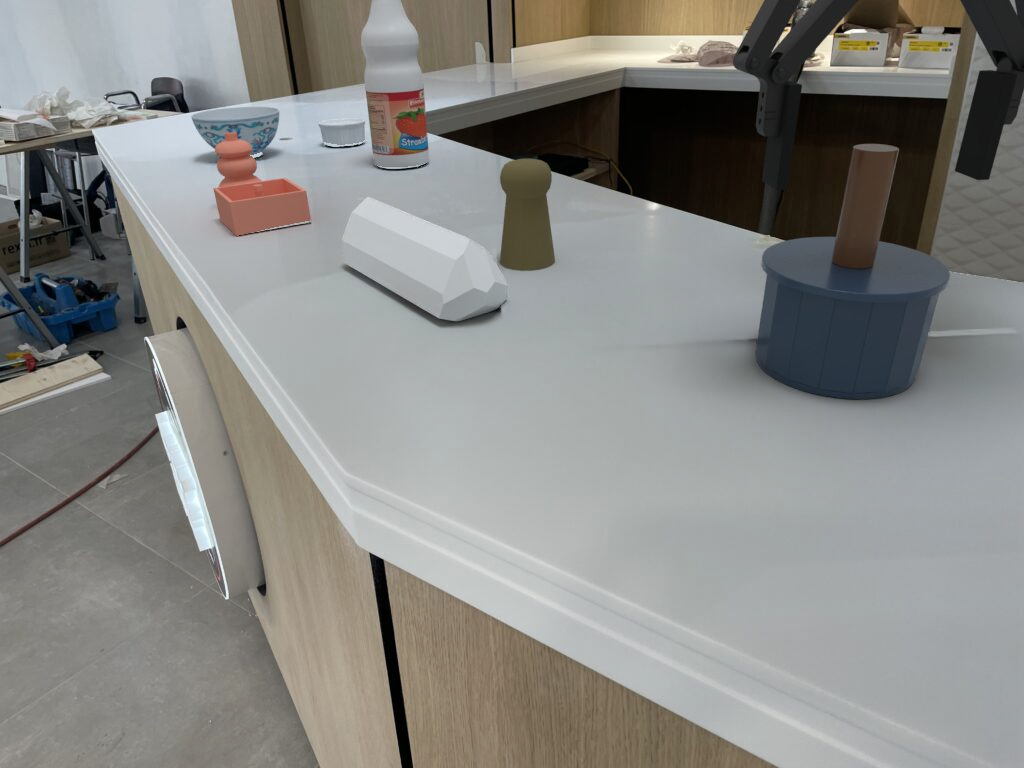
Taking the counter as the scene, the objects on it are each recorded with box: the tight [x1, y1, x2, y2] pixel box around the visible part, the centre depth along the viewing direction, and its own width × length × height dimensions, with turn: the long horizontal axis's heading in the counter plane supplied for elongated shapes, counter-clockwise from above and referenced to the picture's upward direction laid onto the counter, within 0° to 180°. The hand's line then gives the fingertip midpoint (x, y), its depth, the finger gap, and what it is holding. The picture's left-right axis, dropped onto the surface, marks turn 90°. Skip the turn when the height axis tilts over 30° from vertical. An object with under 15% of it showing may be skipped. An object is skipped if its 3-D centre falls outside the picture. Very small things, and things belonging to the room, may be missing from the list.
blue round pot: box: [755, 274, 940, 400], centre depth 55 cm, size 11×11×8 cm
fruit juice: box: [360, 0, 430, 167], centre depth 118 cm, size 9×9×28 cm
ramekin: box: [317, 117, 366, 145], centre depth 142 cm, size 9×9×4 cm
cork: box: [499, 158, 556, 272], centre depth 75 cm, size 6×6×11 cm
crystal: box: [341, 196, 509, 322], centre depth 72 cm, size 7×7×24 cm
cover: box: [760, 143, 951, 303], centre depth 51 cm, size 12×12×9 cm
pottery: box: [213, 132, 312, 237], centre depth 97 cm, size 18×10×10 cm, turn 32°
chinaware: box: [190, 106, 280, 155], centre depth 133 cm, size 15×15×8 cm
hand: (873, 181), depth 50 cm, fingers open, 13 cm apart
